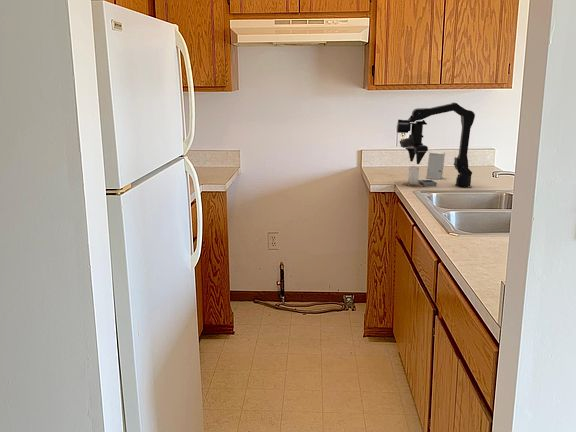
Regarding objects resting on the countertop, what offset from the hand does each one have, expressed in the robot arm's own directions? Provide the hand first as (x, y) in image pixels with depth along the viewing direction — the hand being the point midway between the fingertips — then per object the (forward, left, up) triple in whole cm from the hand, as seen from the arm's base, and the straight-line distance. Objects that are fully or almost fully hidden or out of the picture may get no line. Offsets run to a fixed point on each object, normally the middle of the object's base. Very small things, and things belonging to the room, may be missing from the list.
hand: (414, 162), depth 296 cm
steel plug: (0, 0, -11) cm, 11 cm away
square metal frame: (-8, 0, -12) cm, 14 cm away
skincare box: (-20, -18, -12) cm, 29 cm away
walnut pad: (0, 0, -12) cm, 12 cm away
